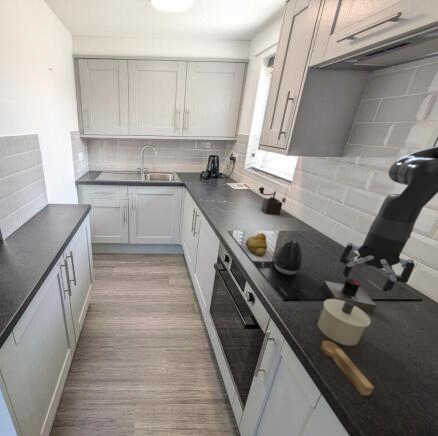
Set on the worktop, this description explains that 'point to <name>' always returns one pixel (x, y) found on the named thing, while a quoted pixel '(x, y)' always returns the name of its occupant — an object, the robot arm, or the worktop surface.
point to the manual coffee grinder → (270, 204)
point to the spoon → (347, 367)
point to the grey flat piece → (349, 296)
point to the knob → (351, 287)
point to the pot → (339, 330)
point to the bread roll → (257, 244)
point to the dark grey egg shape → (288, 258)
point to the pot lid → (346, 313)
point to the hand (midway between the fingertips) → (364, 282)
